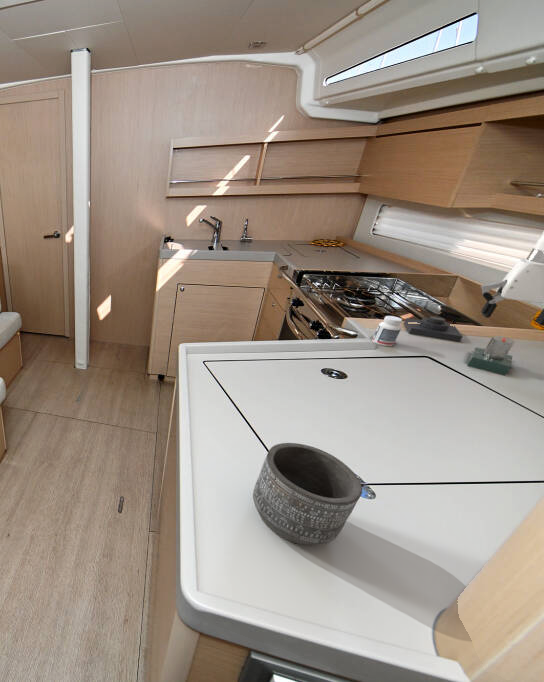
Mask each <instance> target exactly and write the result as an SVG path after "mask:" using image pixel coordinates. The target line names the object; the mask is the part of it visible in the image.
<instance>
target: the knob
mask: <svg viewBox="0 0 544 682" xmlns="http://www.w3.org/2000/svg"><path fill="white" fill-rule="evenodd" d="M515 343H516V340H514V339H512V338H509V337H505V336H499V335H494V336H492V337H491V339H490V341H489V342H488V344H487V346H486V347H485V348H484V349H485V350H484V352H483V353H482V354H483V355H484V356H486V357H489V358H492V359H498V360H502V359H504V358H505V356H506V355H508V353H509V352H510V351H511V349H512V348H513V346H514V345H515Z"/></svg>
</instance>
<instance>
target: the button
mask: <svg viewBox="0 0 544 682" xmlns="http://www.w3.org/2000/svg"><path fill="white" fill-rule="evenodd" d="M428 318H429V320H428V322H430V323H434V324H440V325H443V323H444V321H445V322H446V319H445V318H444V317H441V316H435V315H431V316H429V317H428Z"/></svg>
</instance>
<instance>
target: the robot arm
mask: <svg viewBox="0 0 544 682" xmlns="http://www.w3.org/2000/svg"><path fill="white" fill-rule="evenodd" d="M479 287H480V292H481V295H482V297H483V298H484V300H485V301H486V302H485V304H484V305H483V307H482V308H481V310H480V312H481V314H482V316H483V317H484V318H487V319H488V318H491V316H492V315H493V313H494V311H495V310H496V308H497V307H498V305H497V303H499V302H502V301H505V300H506V299H507V300H512V301H513V300H514V301H520V302H528V303H535V304H536V303H538V304H544V231H542V233H541V235H540V236H539V238H538V240H537V241H536V243H535V244H534V246H533V248H532V249H531V251H530V252H529V254H528V255H527V257H526V258H525V259H519V261H517V262H516V264H515V265H514V266H513V267H512V268H511V269H510V270H509V272H508V273H507V274H506V275H505V276H504V278H503V279H502V280H501V281H496V282H490V283H486V284H485V283H484V284H480V286H479ZM493 289H496V291H495V292H496V293H494V294H491V292H490V291H491V290H493ZM534 321H535V323H536V324H538V325H540V326H541V327H542V326H544V308H542V310H541V312H539V314H538V316H537V317H536V319H534Z"/></svg>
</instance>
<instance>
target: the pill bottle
mask: <svg viewBox="0 0 544 682" xmlns="http://www.w3.org/2000/svg"><path fill="white" fill-rule="evenodd" d="M402 321H403V318H400V317H398V316H394V315H385V316H384V318H383V321H381V322H380V323H379V324H378V326H377V328H376V330H375V332H374V335H373V337H372V339H371V341H372V342H373V343H374V344H376V345H379V346H384V347H392V346H394V344H395V342H396V341H397V338H398V336H399V334H400V333H401V330H402V326H401V324H402Z"/></svg>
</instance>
